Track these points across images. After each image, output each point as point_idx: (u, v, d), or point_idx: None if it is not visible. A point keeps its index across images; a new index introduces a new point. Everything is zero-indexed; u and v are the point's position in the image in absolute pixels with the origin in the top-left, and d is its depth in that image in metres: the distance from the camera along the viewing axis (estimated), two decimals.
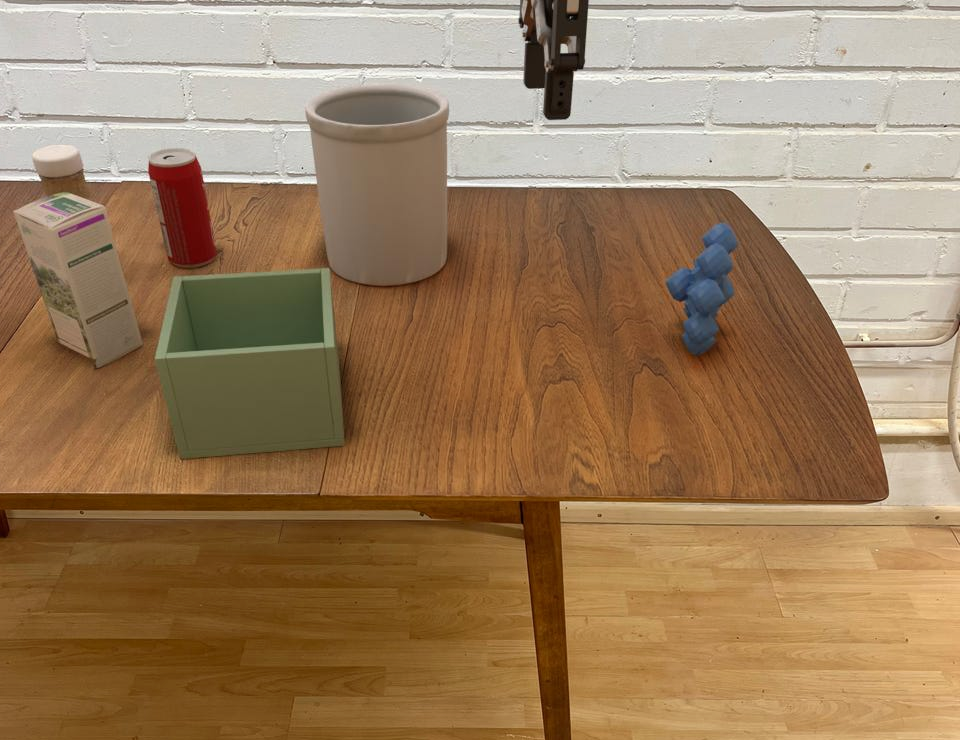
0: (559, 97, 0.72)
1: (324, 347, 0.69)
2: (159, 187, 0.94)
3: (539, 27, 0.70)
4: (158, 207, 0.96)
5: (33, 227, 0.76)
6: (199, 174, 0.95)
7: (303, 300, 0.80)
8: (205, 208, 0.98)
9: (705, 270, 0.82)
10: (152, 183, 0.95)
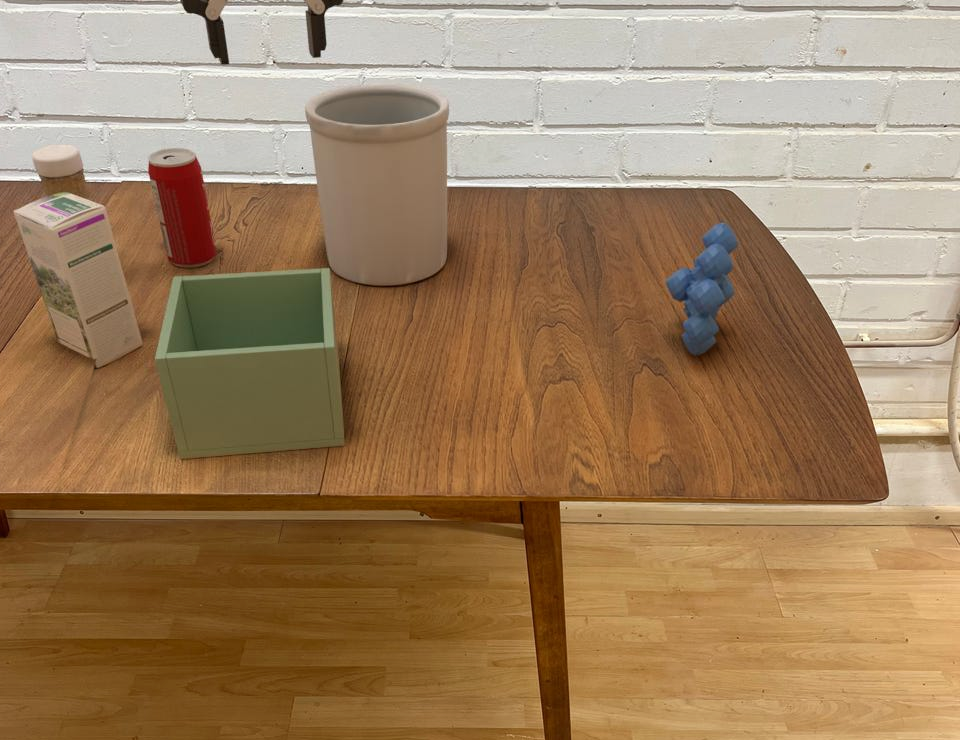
0: (208, 39, 0.81)
1: (324, 347, 0.69)
2: (159, 187, 0.94)
3: None
4: (158, 207, 0.96)
5: (33, 227, 0.76)
6: (199, 174, 0.95)
7: (303, 300, 0.80)
8: (205, 208, 0.98)
9: (705, 270, 0.82)
10: (152, 183, 0.95)
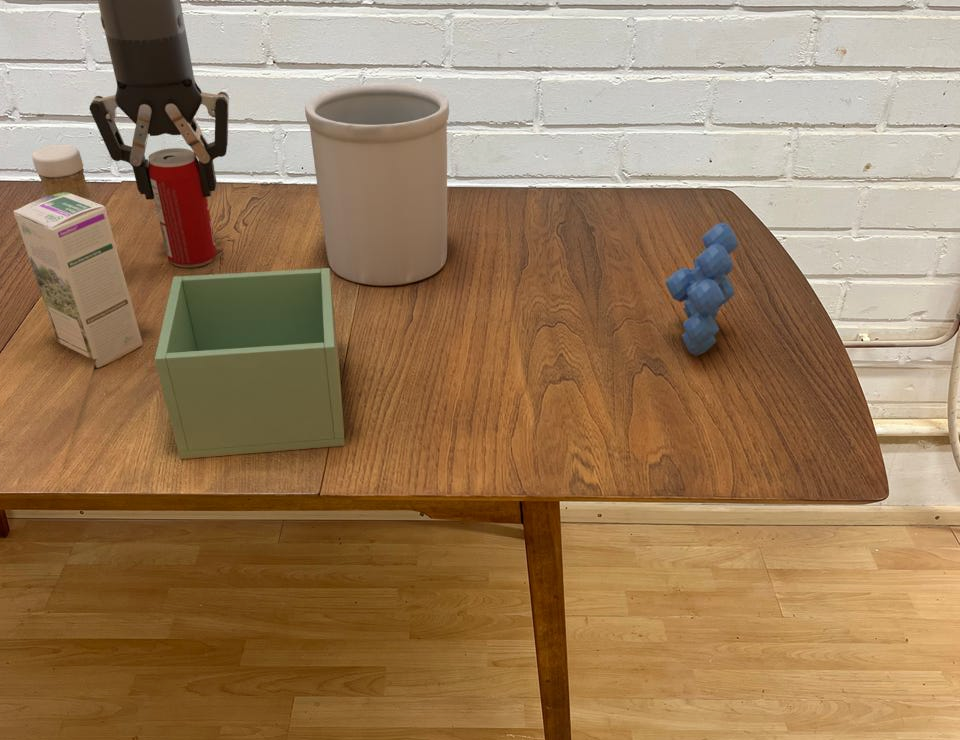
0: None
1: (324, 347, 0.69)
2: (159, 187, 0.94)
3: None
4: (158, 207, 0.96)
5: (34, 227, 0.76)
6: (199, 174, 0.95)
7: (303, 300, 0.80)
8: (205, 208, 0.98)
9: (705, 270, 0.82)
10: (152, 183, 0.95)
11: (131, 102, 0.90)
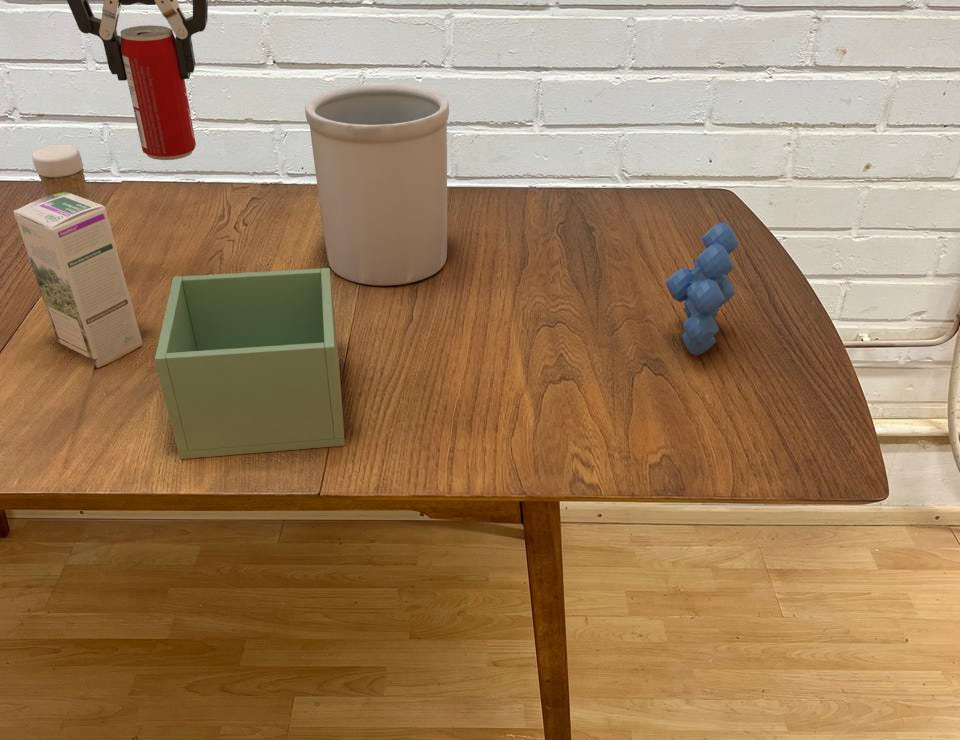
0: None
1: (324, 347, 0.69)
2: (131, 65, 0.86)
3: None
4: (131, 89, 0.88)
5: (34, 227, 0.76)
6: (176, 52, 0.88)
7: (303, 300, 0.80)
8: (183, 92, 0.90)
9: (705, 270, 0.82)
10: (124, 60, 0.87)
11: None
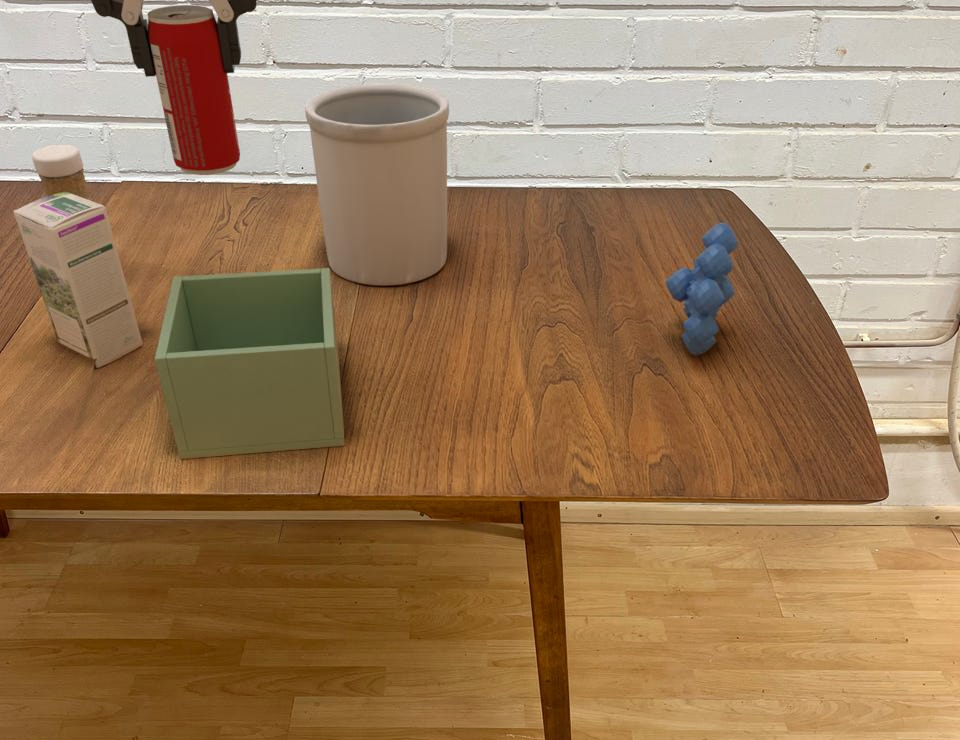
0: None
1: (324, 347, 0.69)
2: (163, 56, 0.68)
3: None
4: (162, 87, 0.70)
5: (34, 227, 0.76)
6: (218, 39, 0.69)
7: (303, 300, 0.80)
8: (226, 90, 0.71)
9: (705, 270, 0.82)
10: (154, 50, 0.68)
11: None
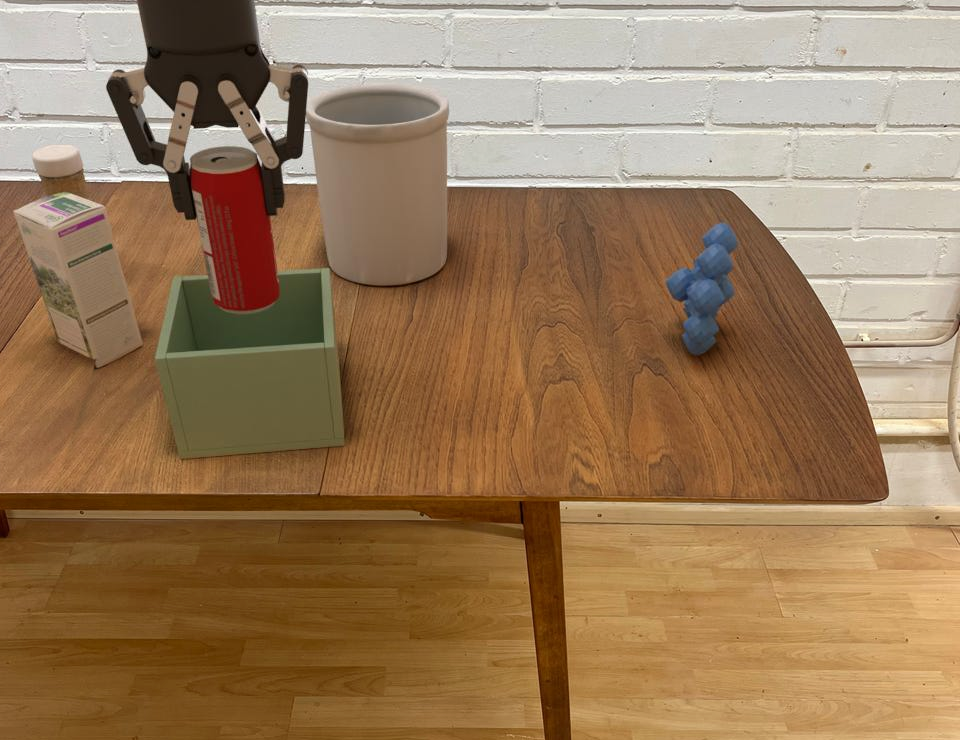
0: None
1: (324, 347, 0.69)
2: (205, 203, 0.65)
3: None
4: (203, 231, 0.67)
5: (34, 227, 0.76)
6: (262, 184, 0.67)
7: (303, 300, 0.80)
8: (269, 232, 0.69)
9: (705, 270, 0.82)
10: (195, 197, 0.66)
11: (167, 79, 0.61)
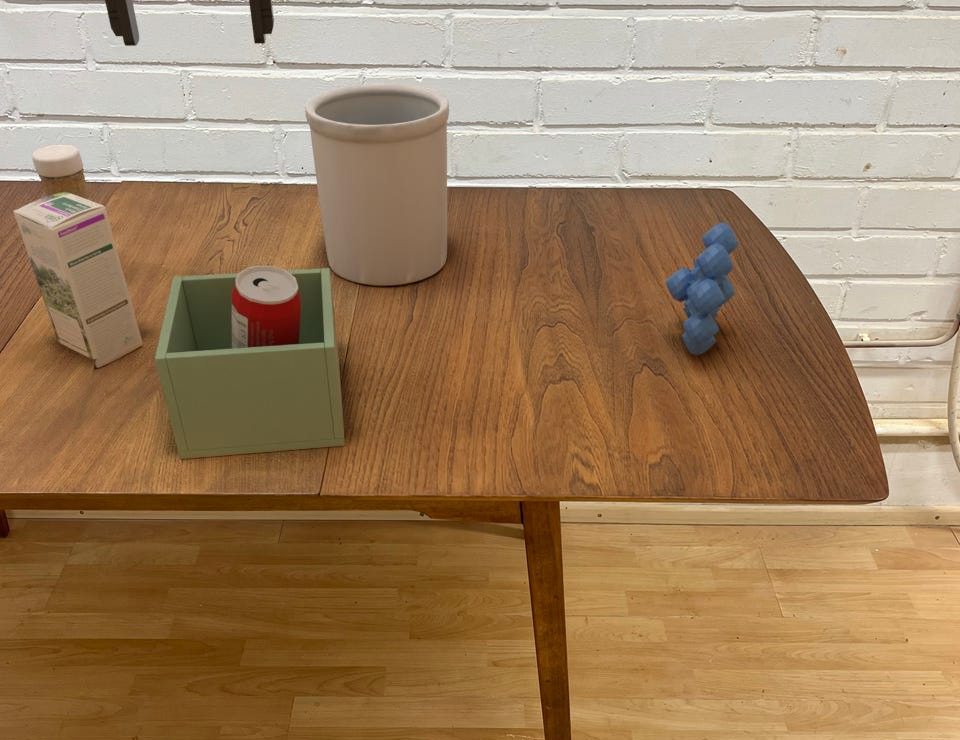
0: None
1: (324, 347, 0.69)
2: (251, 326, 0.71)
3: None
4: (241, 345, 0.72)
5: (34, 227, 0.76)
6: (300, 306, 0.72)
7: (303, 300, 0.80)
8: (298, 343, 0.75)
9: (705, 270, 0.82)
10: (240, 318, 0.71)
11: None
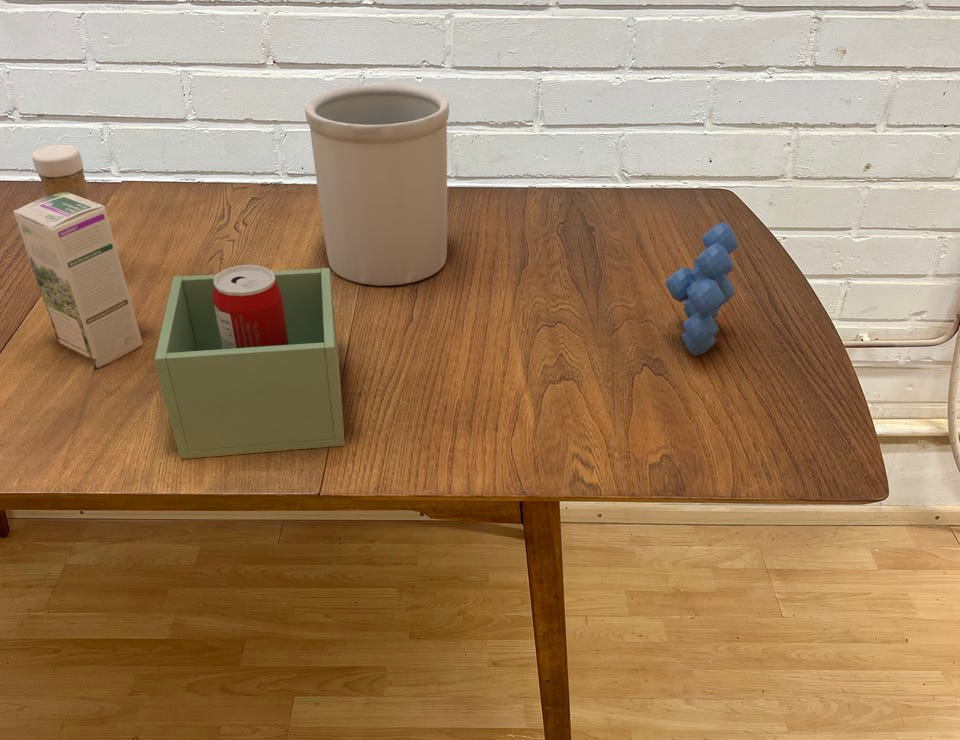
0: None
1: (324, 347, 0.69)
2: (234, 322, 0.71)
3: None
4: (230, 345, 0.73)
5: (34, 227, 0.76)
6: (281, 297, 0.73)
7: (303, 300, 0.80)
8: (287, 337, 0.76)
9: (705, 270, 0.82)
10: (223, 316, 0.72)
11: None
